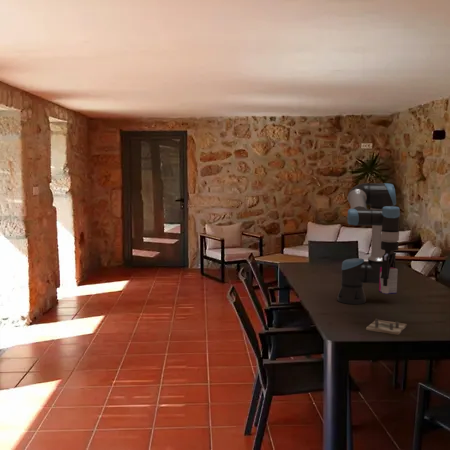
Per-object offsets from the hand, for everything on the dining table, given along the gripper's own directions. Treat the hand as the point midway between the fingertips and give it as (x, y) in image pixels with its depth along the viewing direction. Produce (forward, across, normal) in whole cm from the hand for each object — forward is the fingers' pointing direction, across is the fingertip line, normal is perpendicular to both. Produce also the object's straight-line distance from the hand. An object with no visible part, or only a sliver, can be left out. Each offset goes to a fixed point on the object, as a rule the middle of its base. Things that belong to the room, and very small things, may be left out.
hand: (387, 291), depth 242 cm
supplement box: (+1, 0, 0) cm, 1 cm away
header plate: (+17, 0, 0) cm, 17 cm away
